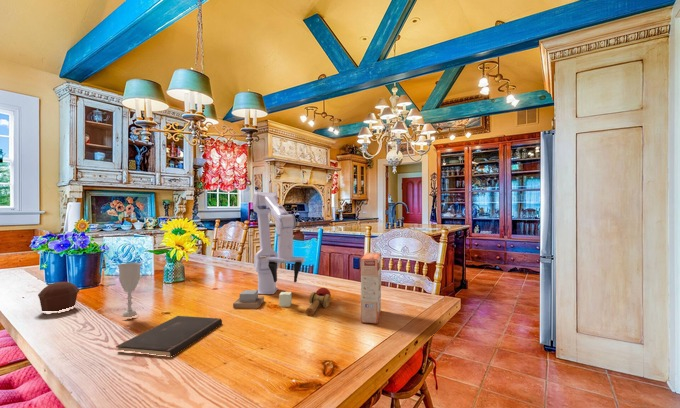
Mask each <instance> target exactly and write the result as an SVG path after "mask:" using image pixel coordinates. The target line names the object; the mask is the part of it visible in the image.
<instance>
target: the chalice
mask: <svg viewBox="0 0 680 408" xmlns="http://www.w3.org/2000/svg"><path fill="white" fill-rule="evenodd" d="M142 264H143V263H141V262H125V263H120V264H117V268H118V272H119V273H118V280H119V284H120V286H121V288H122V289H123V291H124V292H126V293H127V297H126V300H127V302H126V305H127V309H126V310H125V311H124V312H122V315H121V317H132V316H135V315H138V313H137V311H136V310H135V309H133V308H132V304H133V302H132V299H133V297H132V293H133V292H134V291H135V290H136V289H137V286H138V284H139V282H140V280H141V267H142Z"/></svg>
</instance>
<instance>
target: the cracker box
mask: <svg viewBox="0 0 680 408" xmlns="http://www.w3.org/2000/svg"><path fill="white" fill-rule="evenodd" d="M360 260H361V261H360V323H362V324H363V323H364V324H375V325H376V324H377V325H378V323H379V318H380V315H381V312H382V311H381V309H382V308H381V307H382V304H381V303H382V302H381V301H382V299H381V298H382V253H379V252H366V253H365V254H363V256H362V257H361V259H360Z"/></svg>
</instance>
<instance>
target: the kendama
mask: <svg viewBox="0 0 680 408" xmlns="http://www.w3.org/2000/svg"><path fill="white" fill-rule="evenodd" d="M331 295H332V294H331V292H330V290H329V289H328V288H325V287H320V288H318V289H317V290H316V292H315V291H312V292H311V294H310V296H309V304H310V305H309V306H308V307H307V308H306V309H305V314H306V315H307V316H308V317H313V316H314V314H315V312H316V310H317V308H318V307H319V305H320V304H321V305H322V307H323V308H326V309H327V308H328V307H329V306H330V302H331Z"/></svg>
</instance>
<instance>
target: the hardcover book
mask: <svg viewBox="0 0 680 408" xmlns="http://www.w3.org/2000/svg"><path fill="white" fill-rule="evenodd" d="M219 325H220V326H222V325H223V320H222V319H221V318H217V317H216V318H215V317H204V316H203V317H202V316H201V317H200V316H187V315H177V316H174V317H172V318H170V319H169V320H166V321H164V322H162V323H160V324H158V325H157V326H154V327H153V328H152V327H151V328H150V329H148V330H146V331H144V332H142V333H140V334H138V335H136V336H134V337H132V338H130V339H127V340H126V341H123V342H122V343H119V344H117V345H116V346H115V348H117V350H124V351H135V352H141V353H149V354H156V355H166V356H170V357H171V356H173V355H175V354H176V355H178V354H179V353H181V352H182V351H184V350H185V349H186V347H187V346H188V347H190V346H191V345H193V344H194V343H196V342H197V341H199V340H201V339H202V338H203V337H205V336H206V335H208V334H210V333H211V332H212V331H214V330H216V329H217V328H219V327H220V326H219ZM216 327H217V328H216ZM213 329H214V330H213ZM210 331H211V332H210ZM207 333H208V334H207ZM204 335H205V336H204ZM201 337H202V338H201ZM198 339H199V340H198ZM195 341H196V342H195ZM193 342H194V343H193ZM192 343H193V344H192ZM190 344H191V345H190ZM189 345H190V346H189ZM188 347H187V348H188ZM184 348H185V349H184ZM183 349H184V350H183ZM181 350H182V351H181ZM180 351H181V352H180ZM178 352H179V353H178ZM177 353H178V354H177ZM176 355H175V356H176ZM173 357H174V356H173Z"/></svg>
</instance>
